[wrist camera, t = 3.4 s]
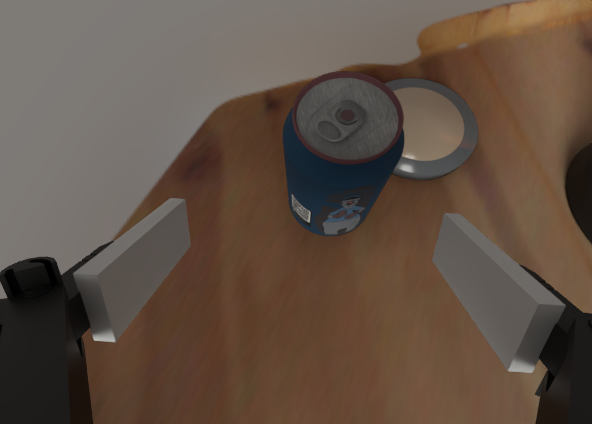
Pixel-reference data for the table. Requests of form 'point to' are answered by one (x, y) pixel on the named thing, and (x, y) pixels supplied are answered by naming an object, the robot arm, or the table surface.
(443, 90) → the coaster
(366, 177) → the soda can
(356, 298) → the table surface
